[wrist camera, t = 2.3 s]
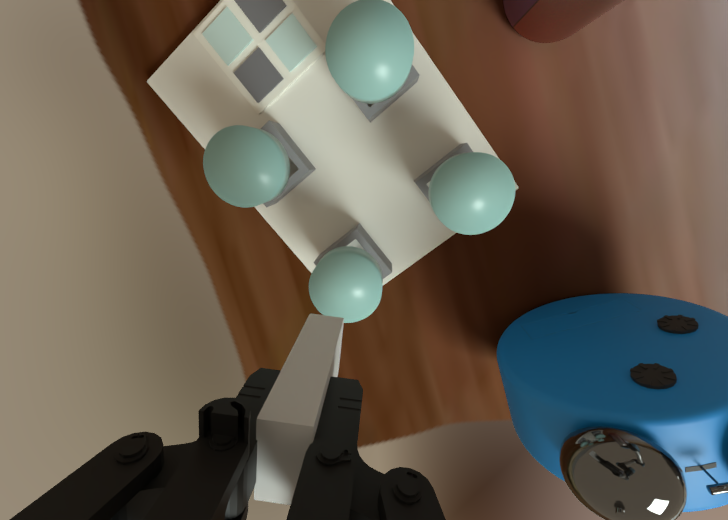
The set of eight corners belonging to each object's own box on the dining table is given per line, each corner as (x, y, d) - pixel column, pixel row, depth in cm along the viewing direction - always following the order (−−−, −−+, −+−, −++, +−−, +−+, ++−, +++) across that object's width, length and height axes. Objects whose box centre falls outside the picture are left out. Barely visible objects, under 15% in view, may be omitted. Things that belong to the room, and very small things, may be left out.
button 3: (468, 137, 22) (485, 133, 18) (507, 194, 23) (531, 201, 19) (411, 182, 23) (415, 188, 19) (450, 235, 24) (462, 250, 20)
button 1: (379, 9, 21) (377, -24, 17) (424, 74, 21) (432, 56, 17) (322, 63, 22) (307, 43, 18) (367, 123, 22) (362, 117, 18)
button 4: (356, 225, 24) (350, 238, 20) (396, 274, 25) (397, 296, 21) (308, 263, 25) (293, 282, 21) (347, 309, 26) (340, 335, 22)
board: (319, -98, 22) (309, -136, 19) (515, 186, 26) (530, 190, 23) (153, 83, 26) (123, 74, 23) (346, 308, 30) (341, 324, 27)
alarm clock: (491, 379, 30) (580, 577, 16) (474, 315, 29) (556, 472, 15) (655, 342, 28) (923, 532, 14) (646, 272, 27) (938, 405, 13)
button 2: (267, 115, 23) (242, 107, 19) (312, 171, 23) (297, 174, 20) (220, 160, 24) (187, 161, 20) (264, 212, 24) (241, 222, 21)
